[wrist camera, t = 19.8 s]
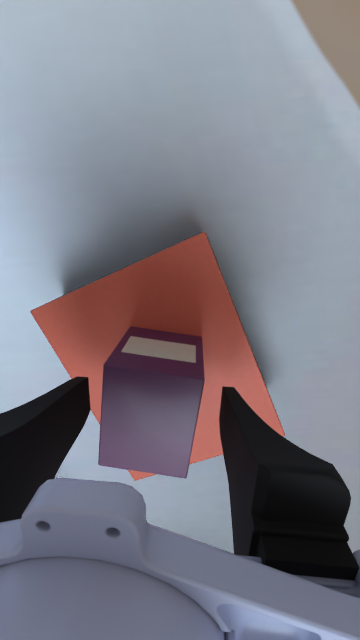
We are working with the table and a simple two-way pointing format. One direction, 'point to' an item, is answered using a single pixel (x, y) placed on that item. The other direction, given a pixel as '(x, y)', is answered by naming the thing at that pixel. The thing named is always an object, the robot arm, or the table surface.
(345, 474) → the table surface
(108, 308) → the lunchbox lid
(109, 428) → the juice box
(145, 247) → the table surface
